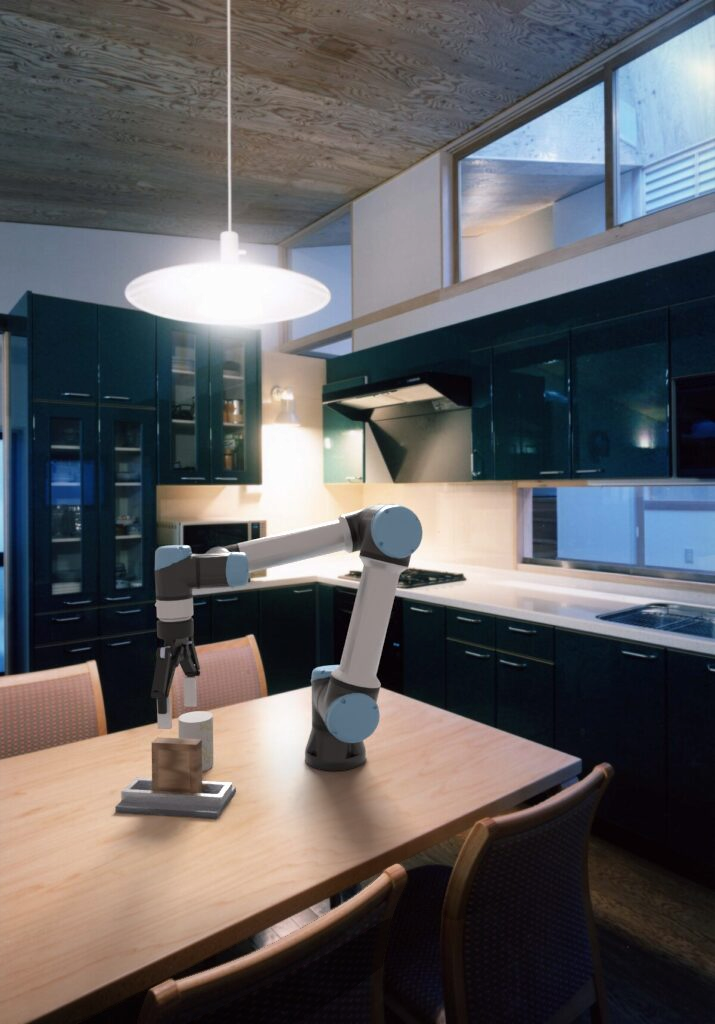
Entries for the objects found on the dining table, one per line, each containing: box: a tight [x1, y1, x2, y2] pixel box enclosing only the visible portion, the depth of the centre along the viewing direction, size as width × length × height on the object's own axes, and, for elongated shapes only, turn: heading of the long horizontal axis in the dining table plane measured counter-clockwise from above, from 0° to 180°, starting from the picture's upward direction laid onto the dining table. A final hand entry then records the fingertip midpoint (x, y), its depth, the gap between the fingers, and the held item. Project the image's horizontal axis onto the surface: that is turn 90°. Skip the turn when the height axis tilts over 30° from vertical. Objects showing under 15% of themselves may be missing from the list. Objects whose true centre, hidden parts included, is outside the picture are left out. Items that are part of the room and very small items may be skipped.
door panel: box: [150, 736, 203, 793], centre depth 140 cm, size 10×3×12 cm, turn 83°
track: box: [114, 777, 237, 820], centre depth 140 cm, size 22×12×3 cm, turn 83°
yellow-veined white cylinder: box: [177, 710, 214, 772], centre depth 159 cm, size 8×8×12 cm
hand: (178, 716), depth 140 cm, fingers open, 13 cm apart
